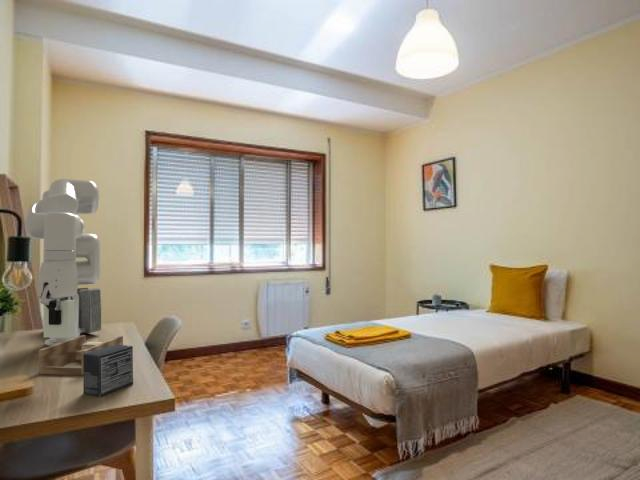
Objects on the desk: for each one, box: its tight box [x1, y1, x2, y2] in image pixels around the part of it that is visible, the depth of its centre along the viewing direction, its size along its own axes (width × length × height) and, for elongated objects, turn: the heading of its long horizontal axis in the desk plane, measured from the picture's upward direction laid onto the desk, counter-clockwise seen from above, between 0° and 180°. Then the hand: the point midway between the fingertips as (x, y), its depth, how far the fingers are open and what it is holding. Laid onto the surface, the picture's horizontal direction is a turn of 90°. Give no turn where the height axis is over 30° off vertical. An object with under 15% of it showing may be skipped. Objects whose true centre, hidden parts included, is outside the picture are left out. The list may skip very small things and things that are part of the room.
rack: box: [38, 334, 124, 376], centre depth 128 cm, size 20×14×7 cm
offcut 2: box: [81, 341, 104, 352], centre depth 134 cm, size 4×7×2 cm, turn 84°
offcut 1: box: [75, 350, 82, 361], centre depth 135 cm, size 4×5×3 cm
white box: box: [43, 300, 74, 339], centre depth 112 cm, size 2×7×10 cm, turn 86°
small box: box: [82, 344, 134, 398], centre depth 107 cm, size 11×6×10 cm, turn 157°
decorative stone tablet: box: [77, 287, 102, 335], centre depth 176 cm, size 19×6×30 cm
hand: (59, 322), depth 112 cm, fingers closed on white box, 2 cm apart
